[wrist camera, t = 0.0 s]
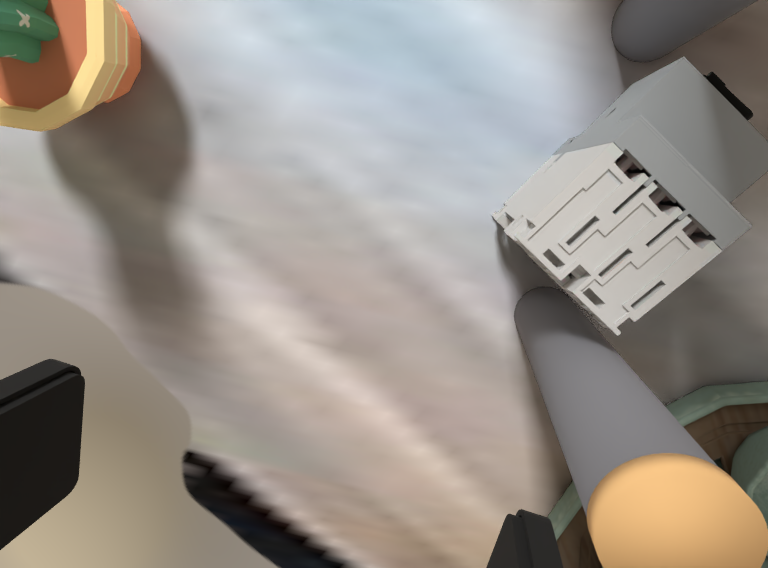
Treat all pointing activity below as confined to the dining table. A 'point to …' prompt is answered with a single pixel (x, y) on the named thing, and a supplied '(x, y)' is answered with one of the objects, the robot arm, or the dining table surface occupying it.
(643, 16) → the post
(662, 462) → the post
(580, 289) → the circuit breaker
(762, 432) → the tea set
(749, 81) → the dining table surface
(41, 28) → the potted cactus
